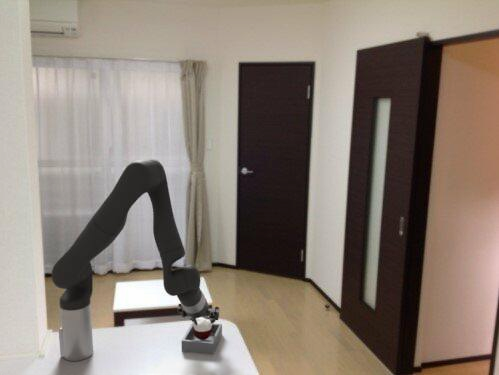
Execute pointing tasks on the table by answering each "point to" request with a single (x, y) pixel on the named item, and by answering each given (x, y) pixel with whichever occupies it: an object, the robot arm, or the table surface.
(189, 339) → the dock tray
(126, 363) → the table surface
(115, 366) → the table surface
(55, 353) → the table surface
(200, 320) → the cocoa
